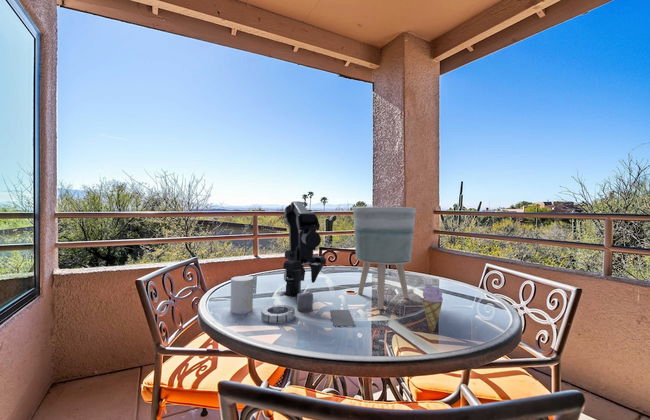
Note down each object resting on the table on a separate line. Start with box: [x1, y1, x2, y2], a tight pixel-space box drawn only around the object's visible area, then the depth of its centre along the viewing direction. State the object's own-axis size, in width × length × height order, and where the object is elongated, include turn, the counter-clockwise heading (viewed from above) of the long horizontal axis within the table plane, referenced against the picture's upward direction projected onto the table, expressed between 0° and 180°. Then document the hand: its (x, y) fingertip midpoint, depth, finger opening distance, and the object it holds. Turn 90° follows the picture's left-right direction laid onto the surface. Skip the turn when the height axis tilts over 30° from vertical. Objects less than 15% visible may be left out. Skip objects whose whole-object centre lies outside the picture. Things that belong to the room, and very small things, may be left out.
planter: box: [352, 206, 416, 310], centre depth 124 cm, size 26×26×40 cm
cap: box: [296, 291, 314, 313], centre depth 110 cm, size 6×6×7 cm
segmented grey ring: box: [260, 304, 296, 324], centre depth 102 cm, size 12×12×2 cm
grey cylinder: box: [230, 275, 254, 315], centre depth 109 cm, size 8×8×12 cm
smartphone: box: [329, 309, 356, 328], centre depth 102 cm, size 8×1×15 cm
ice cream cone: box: [421, 284, 444, 332], centre depth 93 cm, size 7×6×15 cm
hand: (305, 284), depth 110 cm, fingers open, 9 cm apart
